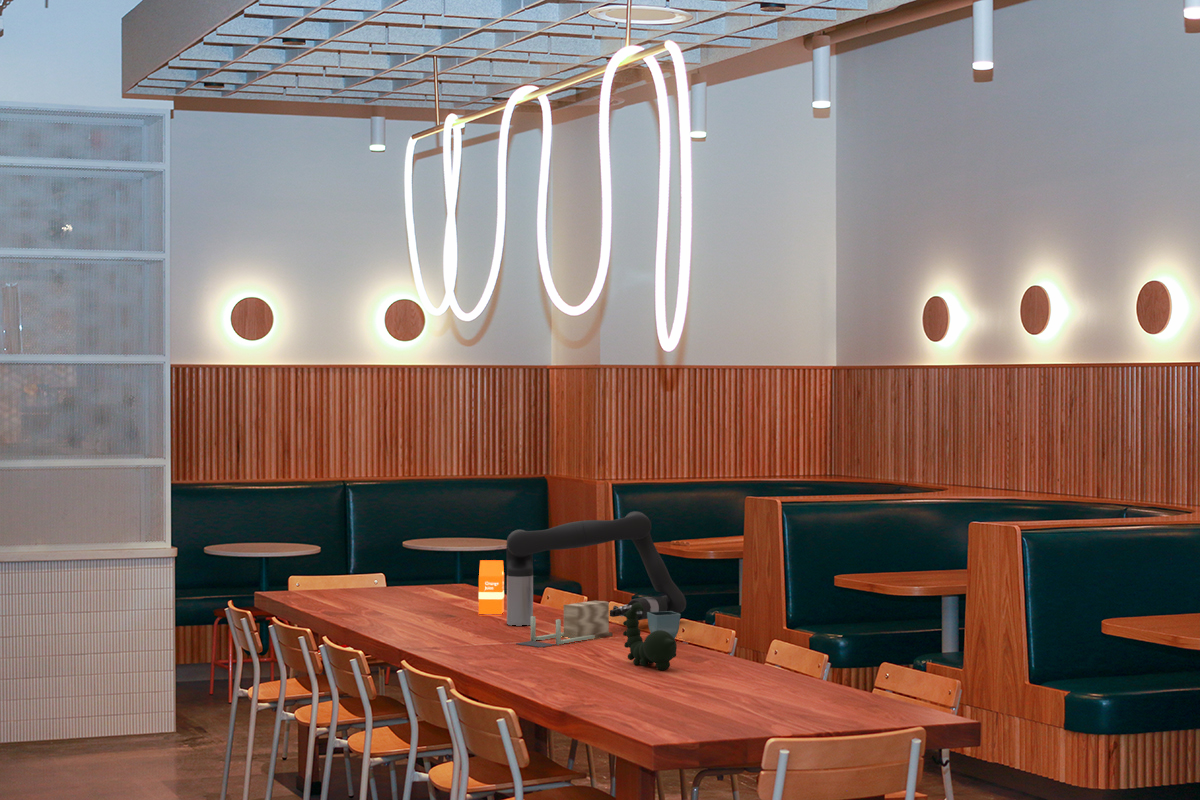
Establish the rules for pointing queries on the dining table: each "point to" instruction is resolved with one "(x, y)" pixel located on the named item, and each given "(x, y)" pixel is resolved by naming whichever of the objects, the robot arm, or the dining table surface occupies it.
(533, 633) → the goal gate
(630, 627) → the toy figurine
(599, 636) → the lane
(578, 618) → the beech block
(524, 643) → the pit mat
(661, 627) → the flower pot
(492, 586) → the orange juice
